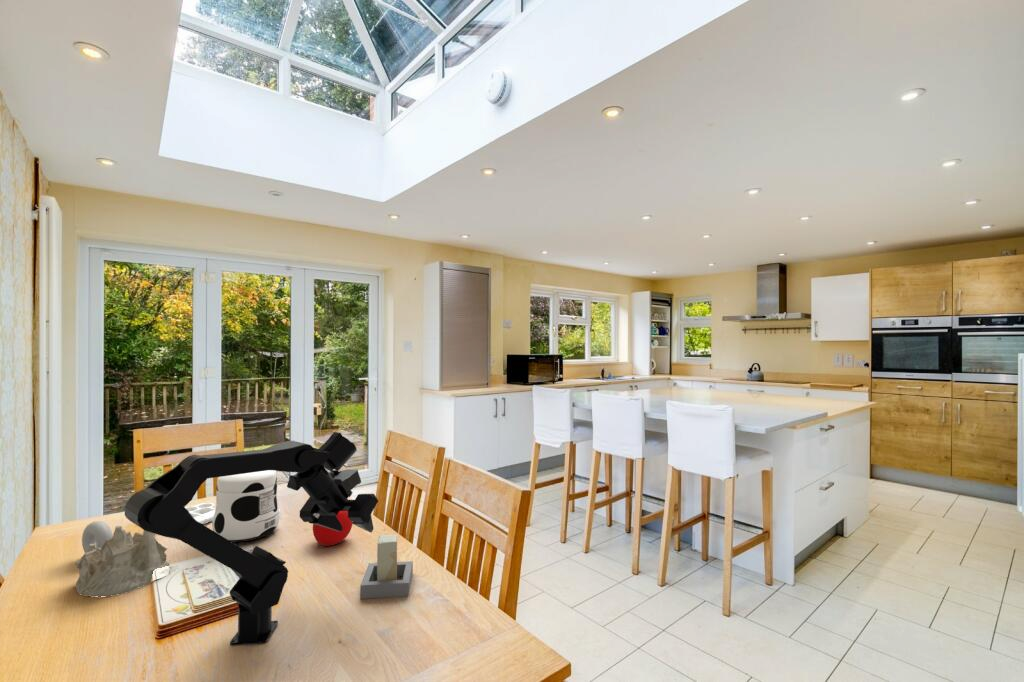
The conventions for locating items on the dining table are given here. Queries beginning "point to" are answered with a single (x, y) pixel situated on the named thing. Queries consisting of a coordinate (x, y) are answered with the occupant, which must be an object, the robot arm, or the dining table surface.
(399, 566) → the block
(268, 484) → the milk container
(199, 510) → the white dimpled tray
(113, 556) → the grey castle model
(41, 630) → the dining table surface
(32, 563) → the dining table surface
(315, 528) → the tomato
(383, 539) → the box
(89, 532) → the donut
